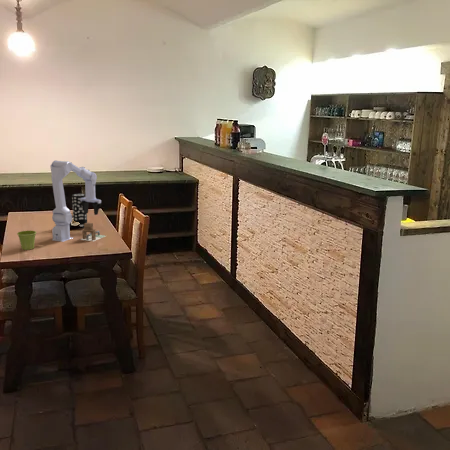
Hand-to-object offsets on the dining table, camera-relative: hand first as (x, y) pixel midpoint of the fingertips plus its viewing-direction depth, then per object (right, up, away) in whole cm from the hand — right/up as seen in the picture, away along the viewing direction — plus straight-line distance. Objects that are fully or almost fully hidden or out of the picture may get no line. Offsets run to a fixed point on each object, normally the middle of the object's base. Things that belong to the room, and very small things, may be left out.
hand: (91, 213), depth 311 cm
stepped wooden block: (+4, -15, -21) cm, 26 cm away
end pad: (+7, -14, -14) cm, 20 cm away
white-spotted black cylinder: (-9, -8, +10) cm, 16 cm away
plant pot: (-23, -19, -40) cm, 50 cm away
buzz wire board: (+6, -14, -17) cm, 23 cm away
